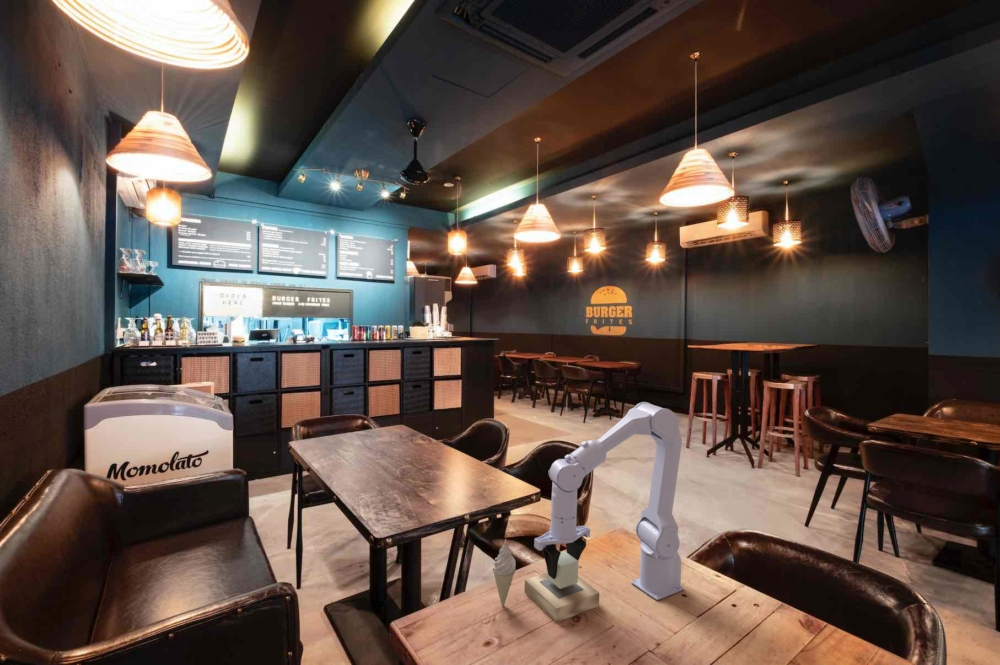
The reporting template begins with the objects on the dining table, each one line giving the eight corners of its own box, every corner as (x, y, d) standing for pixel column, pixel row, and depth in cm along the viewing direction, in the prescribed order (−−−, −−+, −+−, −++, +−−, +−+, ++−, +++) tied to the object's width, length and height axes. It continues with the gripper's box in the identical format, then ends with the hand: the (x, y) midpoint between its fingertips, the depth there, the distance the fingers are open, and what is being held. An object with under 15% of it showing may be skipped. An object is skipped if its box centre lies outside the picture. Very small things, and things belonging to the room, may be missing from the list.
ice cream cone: (512, 614, 97) (514, 545, 96) (489, 611, 98) (491, 542, 97) (516, 600, 101) (518, 534, 101) (494, 597, 102) (496, 532, 102)
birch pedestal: (565, 578, 111) (565, 566, 111) (599, 606, 101) (599, 591, 100) (524, 592, 105) (524, 578, 105) (556, 622, 94) (556, 607, 94)
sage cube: (563, 571, 106) (564, 550, 106) (577, 582, 102) (578, 560, 101) (546, 577, 103) (547, 555, 103) (560, 588, 99) (560, 566, 99)
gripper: (577, 502, 109) (575, 557, 110) (527, 513, 102) (525, 572, 102) (597, 513, 103) (595, 571, 104) (545, 526, 96) (543, 589, 96)
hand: (561, 573), depth 103 cm, fingers closed on sage cube, 5 cm apart
